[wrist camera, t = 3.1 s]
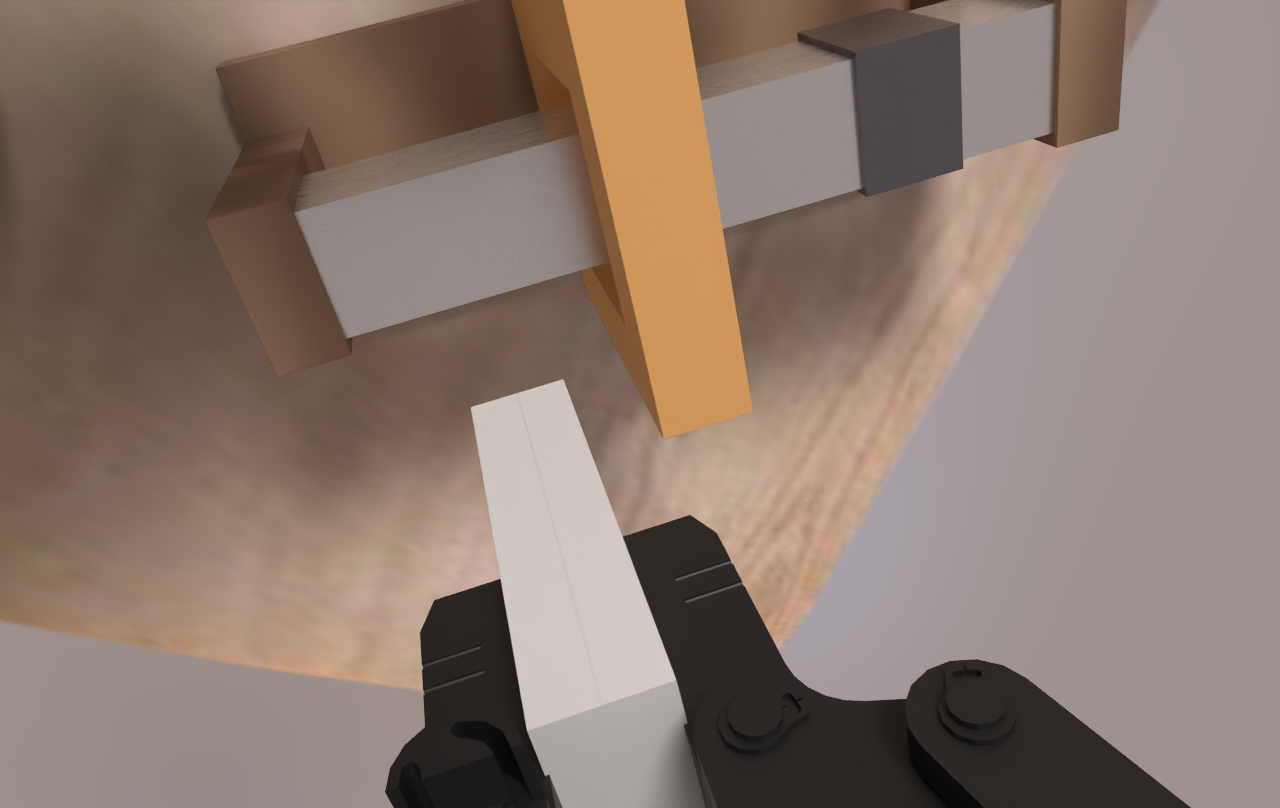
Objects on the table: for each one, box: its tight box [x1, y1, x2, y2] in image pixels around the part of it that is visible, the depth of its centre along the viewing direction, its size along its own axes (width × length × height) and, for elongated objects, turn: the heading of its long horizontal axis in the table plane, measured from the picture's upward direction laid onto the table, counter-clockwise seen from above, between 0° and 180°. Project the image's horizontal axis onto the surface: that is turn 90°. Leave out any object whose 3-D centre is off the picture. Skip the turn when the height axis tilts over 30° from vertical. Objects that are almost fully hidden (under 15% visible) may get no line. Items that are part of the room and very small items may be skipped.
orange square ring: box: [511, 0, 753, 439], centre depth 26 cm, size 2×11×11 cm, turn 12°
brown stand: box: [205, 0, 1127, 376], centre depth 29 cm, size 25×9×10 cm, turn 102°
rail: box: [293, 0, 1057, 339], centre depth 27 cm, size 22×4×4 cm, turn 102°
